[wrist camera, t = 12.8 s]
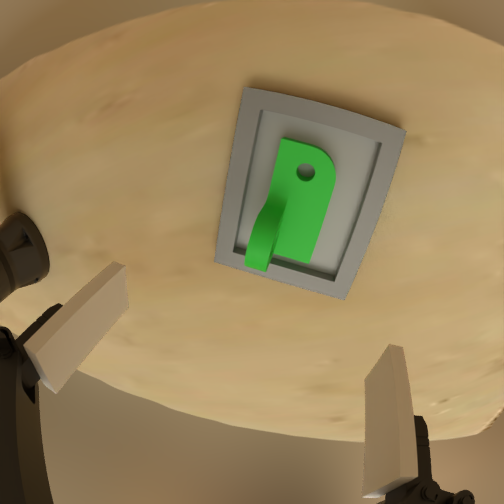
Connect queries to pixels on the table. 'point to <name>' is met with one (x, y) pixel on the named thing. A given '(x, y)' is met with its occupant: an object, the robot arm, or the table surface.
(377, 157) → the locating tray
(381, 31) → the table surface
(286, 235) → the mechanical part
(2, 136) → the table surface
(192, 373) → the table surface
